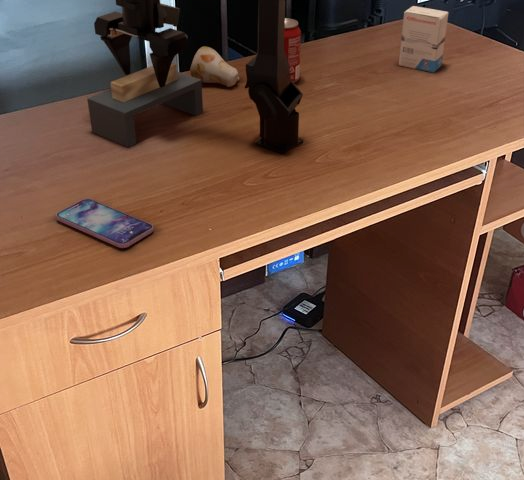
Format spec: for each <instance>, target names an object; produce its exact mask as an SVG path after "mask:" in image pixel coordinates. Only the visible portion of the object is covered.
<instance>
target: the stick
mask: <svg viewBox="0 0 524 480" xmlns="http://www.w3.org/2000/svg"><path fill="white" fill-rule="evenodd" d="M177 72H178V67H177V64H176V63H173V62H172V63H171V66H170V70H169V73H168V77H167V81H166V84H169V83H171V82H173V81H176V80H177ZM166 84H165V85H166ZM157 88H159V84H158V82H157V78H156V75H155V72H154V68H153V65H151V66H147V67H145V68H143V69H141V70H138V71H136V72H132V73H130V74H128V75H124V76H123V77H120V78H118V79H115V80H112V81H111V82H110V89H111V91H112V98H113V99H116V100H118V101H121V102H126V101H128V100H131V99H133V98H135V97H138V96H140V95H143V94H145V93H147V92H150V91H152V90H154V89H157Z"/></svg>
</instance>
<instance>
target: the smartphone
mask: <svg viewBox="0 0 524 480" xmlns="http://www.w3.org/2000/svg"><path fill="white" fill-rule="evenodd" d="M55 218H56V220H57V221H58V222H61V223H62V224H65V225H67V226H69V227H72V228H74V229H76V230H78V231H81V232H82V233H85V234H88V235H90V236H92V237H94V238H96V239H98V240H101V241H103V242H106V243H107V244H110V245H112V246H114V247H117V248H119V249H125V248H129V247H130V246H132V245H133V244H135V243H137V242H139V241H140V240H142V239H143V238H144V239H145V237H147V236H148V235H150V234H152V233H153V232H154V225H153V224H152V223H150V222H148V221H146V220H143V219H140V218H139V217H136V216H133V215H130V214H128V213H126V212H123V211H121V210H119V209H116V208H114V207H111V206H109V205H106V204H104V203H102V202H99V201H97V200H94V199H93V198H84V199H81V200H78V201H77V202H75V203H73V204H71V205H70V206H67V207H65V208H64V209H62V210H60V211H58V212H56V214H55Z"/></svg>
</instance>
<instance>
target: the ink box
mask: <svg viewBox="0 0 524 480" xmlns="http://www.w3.org/2000/svg"><path fill="white" fill-rule="evenodd" d="M448 19H449V11H445V10H440V9H433V8H429V7H423V6H416V5H412V6H410V7H409V8H408V9H406V10H405V11H404V12H403V18H402V27H401V28H402V29H401V37H400V38H401V39H400V48H399V56H398V57H399V58H398V65H399V66H400V67H405V68H409V69H415V70H418V71H424V72H428V73H435V72H437V70H439V69H440V68H441V67H442V64H443V56H444V49H445V42H446V36H447V27H448Z"/></svg>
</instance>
